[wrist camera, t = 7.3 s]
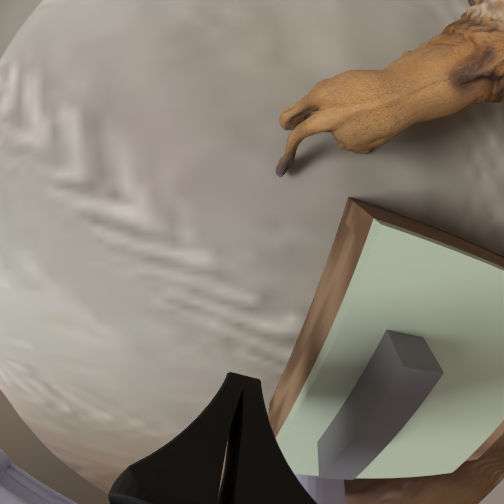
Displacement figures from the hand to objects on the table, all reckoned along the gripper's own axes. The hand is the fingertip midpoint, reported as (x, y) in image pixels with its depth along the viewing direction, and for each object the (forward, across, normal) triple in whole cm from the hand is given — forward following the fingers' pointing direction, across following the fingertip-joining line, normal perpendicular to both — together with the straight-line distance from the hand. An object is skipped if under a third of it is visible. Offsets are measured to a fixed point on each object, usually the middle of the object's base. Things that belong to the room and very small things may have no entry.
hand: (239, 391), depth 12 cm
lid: (+2, -11, 0) cm, 11 cm away
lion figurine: (+7, -4, -15) cm, 17 cm away
